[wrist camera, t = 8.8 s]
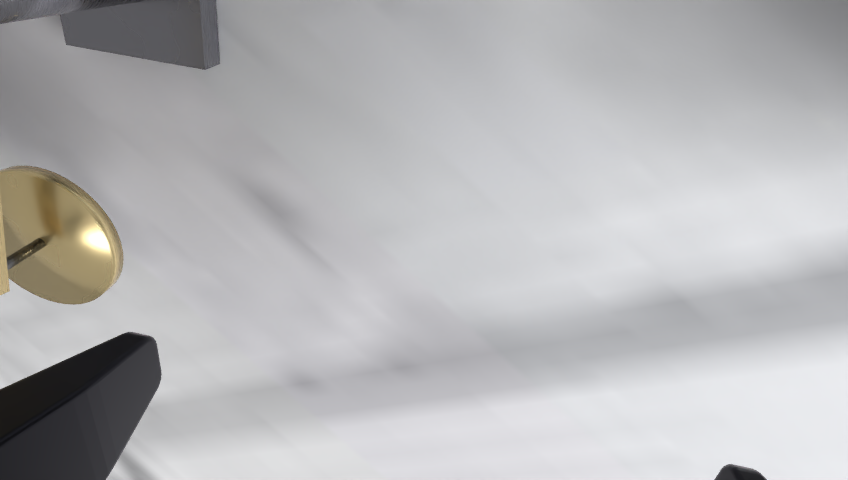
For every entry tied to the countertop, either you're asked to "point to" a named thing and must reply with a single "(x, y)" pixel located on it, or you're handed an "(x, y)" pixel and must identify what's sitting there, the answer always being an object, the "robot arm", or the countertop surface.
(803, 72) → the countertop surface
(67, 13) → the balance
